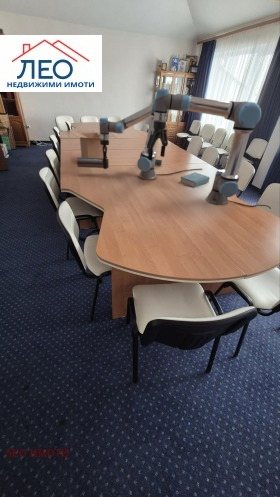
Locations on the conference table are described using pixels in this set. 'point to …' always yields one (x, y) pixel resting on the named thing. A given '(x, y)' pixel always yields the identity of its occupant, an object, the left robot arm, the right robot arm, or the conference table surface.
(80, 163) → the rod
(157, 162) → the laser sight
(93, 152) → the box
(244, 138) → the right robot arm
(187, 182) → the book
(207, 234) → the conference table surface
